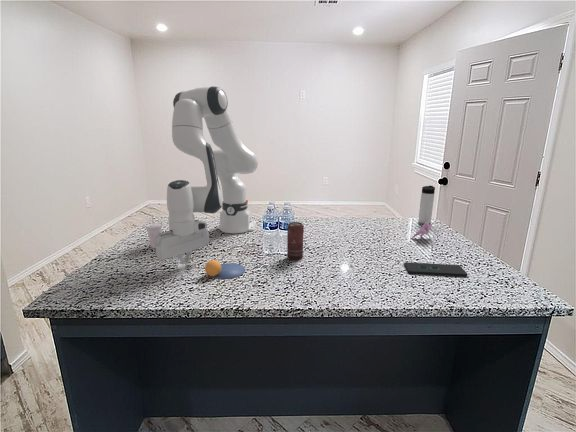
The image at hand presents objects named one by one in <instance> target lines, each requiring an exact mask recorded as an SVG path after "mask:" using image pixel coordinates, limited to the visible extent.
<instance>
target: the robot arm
mask: <svg viewBox="0 0 576 432" xmlns="http://www.w3.org/2000/svg"><path fill="white" fill-rule="evenodd" d="M228 103H229V102H228V97H227V93H226V92H225V91H224V90H223V88H221V87H220V86H205V87H196V88H193V89H189V90H185V91H184V90H182V91H180V92H178V93H176V94H175V96H174V98H173V101H172V104H173V112H172V113H173V114H172V120H171V137H172V139H171V140H172V143H173V144H174V146H175V147H176V149H178V150H179V151H181V153H184V154H186V155H188V156H191V157H193V158H196V159H199V160H200V161H201V162H202V164H203V167H204V174H205V179H206V185H205V186H192V185H191V183H190V181H187V180H185V179H184V180H182V179H178V180H174V181H171V182H169V183H168V185H167V187H166V206H167V208H166V209H167V211H168V229H169V230H167V231H166V230H165V231H163V232H162V231H161V233H159V235H157V237H156V248H155V254H156V258H158V259H160V260H161V261H162V260H163V261H164V260H169V259H171V258H174V257H177V258H178V260H179V263H180V265H182V266H183V265H186V264H188V263H190V262H191V261H190V259H191V257H192V254H193V251H195V250H198V249H200V248H204V247H207V246H208V245H209V243H210V236H209V235H210V234H209V230H208V229H207V228H208V223H207V222H205V221H202V220H198V219H195V214H194V213H205V214H216V213H217V212H218V211H220V210H221V209H222V211H220V213H219V225H217V226H216V228H217V230H220V231H221V232H223V233H226V234H242V233H246V232H253V231H254V230H255V228H256V223H257V221H256V220H255V219H252V212H251V211H250V209H249V207H248V204H249V199H247V197H246V195H247V191H246V189H247V187H246V184H245V183H244V182H243V181H242V180H241V179H240V178H239V176H238V174H239V175H249V174H253V173H255V171H256V170H257V169H258V164H259V160H258V157H257V155H256V153H255V152H253V151H252V150H250V149H249V148H248V147H247V146H246V145H245V144H244V142H242V140H241V139H240V137H239V135H238V134H237V132H236V131H237V130H236V129H235V126H234V124H233V123H234V122H233V120H232V116H231V114H230V113H229V110H228V105H229V104H228ZM203 119H204V122H205V124H206V127H207V130H208V133H209V136H210V138H211V141H212V143H213V144H214V145H215V146H216V147H217V148H219V149H215V150H213V148H212V145H211V144H210V143H209V142H207V141H206V140H205V137H204V131H203V130H204V129H203V127H204V126H203ZM219 181H220V183H219ZM220 186H221V188H220ZM184 254H185V256H184ZM183 256H184V257H183Z"/></svg>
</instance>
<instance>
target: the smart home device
mask: <svg viewBox="0 0 576 432" xmlns="http://www.w3.org/2000/svg"><path fill="white" fill-rule="evenodd" d="M403 266H404V268H405V270H406V272H407V274H408V275H409V274H410V275H423V276H424V275H425V276H440V277H461V278H467V277H468V272H467V271H466V270H465V269H464V268H463V267H462V266H461V265H460V264H448V263H447V264H446V263H443V264H442V263H427V262H426V263H425V262H410V261H409V262H407V261H406V262H404V263H403Z"/></svg>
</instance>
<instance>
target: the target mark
mask: <svg viewBox="0 0 576 432" xmlns="http://www.w3.org/2000/svg"><path fill="white" fill-rule="evenodd" d="M220 265H221V271H220V273H219V274H218V275H216V276H210V277H212V278H214V279H218V280H230V279H236V278H239V277H241V276H243V275H244V274H245V273H246V267H245V266H244V265H242V264H238V263H234V262H229V263H228V262H227V263H220Z"/></svg>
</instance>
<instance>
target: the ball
mask: <svg viewBox="0 0 576 432" xmlns="http://www.w3.org/2000/svg"><path fill="white" fill-rule="evenodd" d="M220 264H221V263H220V261H218V260H216V259H215V260H214V259H211V260H208V262H206V264H205V265H204V271H205V273H206V274H207V275H208V276H210V277H211V276H216V275H218V274H219V273H220V271H221V265H220Z"/></svg>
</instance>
